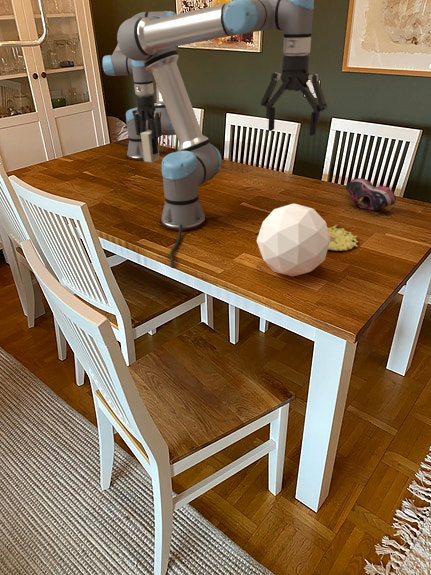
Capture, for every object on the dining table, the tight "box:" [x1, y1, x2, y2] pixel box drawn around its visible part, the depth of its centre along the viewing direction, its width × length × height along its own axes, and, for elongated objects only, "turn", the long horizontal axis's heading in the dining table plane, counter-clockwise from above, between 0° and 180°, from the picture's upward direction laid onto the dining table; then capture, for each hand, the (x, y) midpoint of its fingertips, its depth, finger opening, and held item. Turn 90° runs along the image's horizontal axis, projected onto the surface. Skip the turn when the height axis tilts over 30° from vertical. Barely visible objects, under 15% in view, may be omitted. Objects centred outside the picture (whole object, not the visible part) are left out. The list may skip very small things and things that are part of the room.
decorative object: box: [327, 224, 359, 252], centre depth 141 cm, size 21×2×20 cm
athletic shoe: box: [345, 177, 396, 212], centre depth 161 cm, size 11×22×12 cm
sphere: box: [256, 202, 330, 278], centre depth 121 cm, size 19×20×20 cm
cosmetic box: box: [141, 130, 161, 163], centre depth 190 cm, size 6×4×12 cm
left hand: (150, 152), depth 191 cm, fingers closed on cosmetic box, 4 cm apart
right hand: (291, 132), depth 136 cm, fingers open, 13 cm apart
